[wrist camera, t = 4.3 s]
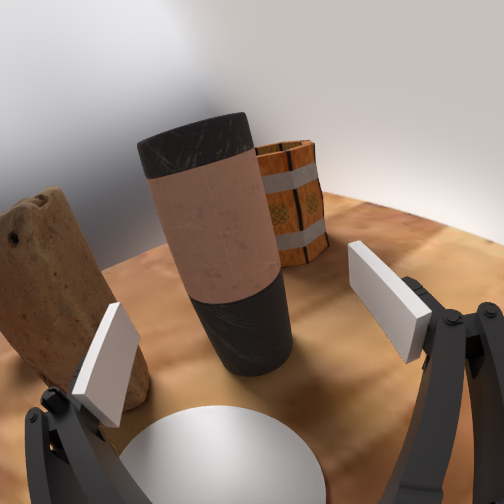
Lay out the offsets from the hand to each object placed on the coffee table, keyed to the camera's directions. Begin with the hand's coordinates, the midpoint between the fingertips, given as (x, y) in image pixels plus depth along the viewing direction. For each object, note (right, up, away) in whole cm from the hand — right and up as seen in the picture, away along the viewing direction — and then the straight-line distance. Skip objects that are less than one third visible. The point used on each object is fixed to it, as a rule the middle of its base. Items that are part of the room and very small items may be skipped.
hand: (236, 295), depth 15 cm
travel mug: (+1, -7, +11) cm, 13 cm away
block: (-14, -12, +8) cm, 20 cm away
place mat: (-2, -14, -2) cm, 14 cm away
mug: (+5, +4, +31) cm, 31 cm away
